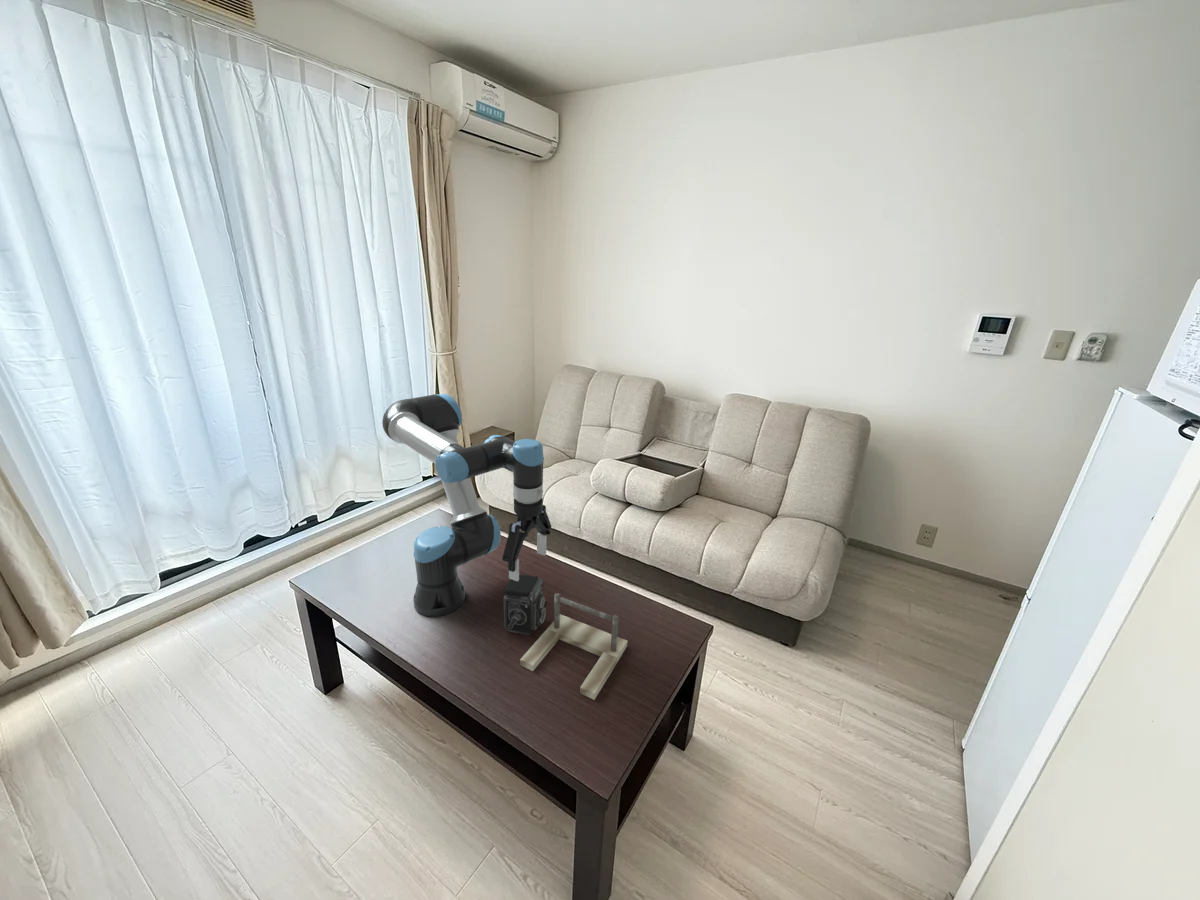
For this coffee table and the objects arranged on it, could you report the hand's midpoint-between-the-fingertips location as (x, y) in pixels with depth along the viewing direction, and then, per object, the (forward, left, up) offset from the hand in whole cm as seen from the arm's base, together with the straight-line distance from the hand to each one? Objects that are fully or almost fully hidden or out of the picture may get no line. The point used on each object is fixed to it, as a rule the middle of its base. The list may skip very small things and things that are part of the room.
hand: (528, 566), depth 128 cm
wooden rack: (+18, -4, -20) cm, 27 cm away
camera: (0, -1, -21) cm, 21 cm away
